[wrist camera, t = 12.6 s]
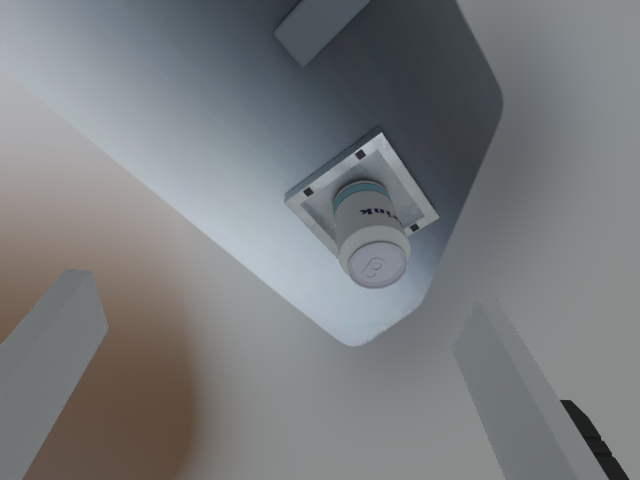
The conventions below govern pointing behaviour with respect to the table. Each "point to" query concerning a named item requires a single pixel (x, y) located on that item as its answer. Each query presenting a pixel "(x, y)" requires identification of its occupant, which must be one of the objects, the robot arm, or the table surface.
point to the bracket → (315, 26)
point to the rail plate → (352, 166)
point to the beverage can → (370, 235)
